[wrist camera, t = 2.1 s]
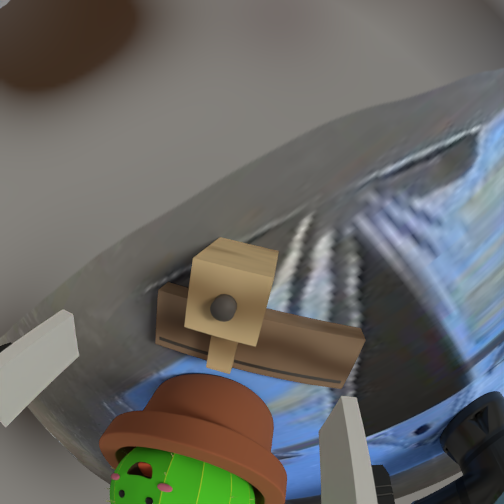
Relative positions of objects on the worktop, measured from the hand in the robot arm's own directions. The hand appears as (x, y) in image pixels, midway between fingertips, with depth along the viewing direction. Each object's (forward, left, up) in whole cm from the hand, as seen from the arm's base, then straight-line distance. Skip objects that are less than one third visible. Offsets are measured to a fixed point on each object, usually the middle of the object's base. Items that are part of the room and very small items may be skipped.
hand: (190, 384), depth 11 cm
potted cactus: (-23, 0, -18) cm, 29 cm away
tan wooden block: (-4, 0, -17) cm, 18 cm away
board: (-7, -3, -18) cm, 19 cm away
